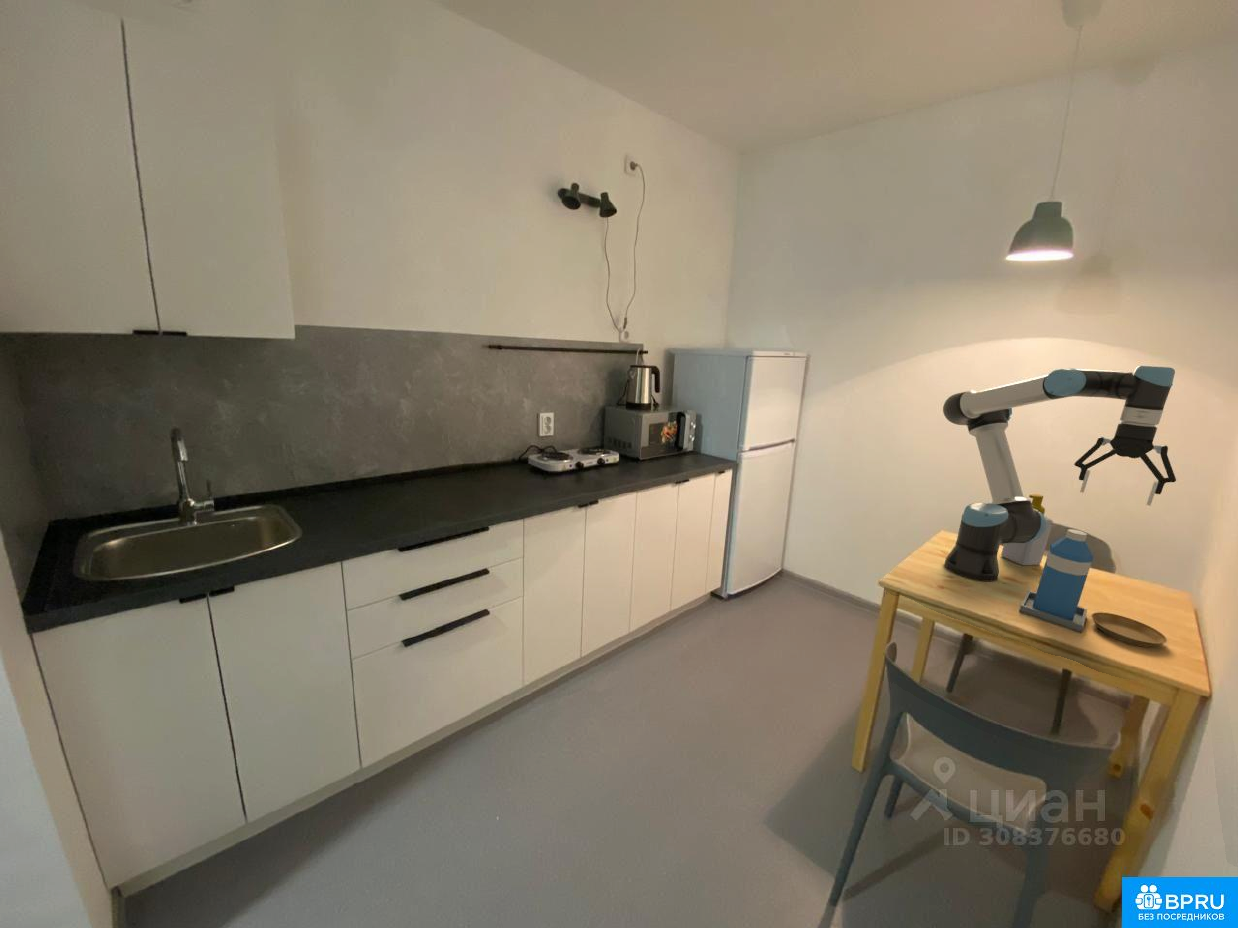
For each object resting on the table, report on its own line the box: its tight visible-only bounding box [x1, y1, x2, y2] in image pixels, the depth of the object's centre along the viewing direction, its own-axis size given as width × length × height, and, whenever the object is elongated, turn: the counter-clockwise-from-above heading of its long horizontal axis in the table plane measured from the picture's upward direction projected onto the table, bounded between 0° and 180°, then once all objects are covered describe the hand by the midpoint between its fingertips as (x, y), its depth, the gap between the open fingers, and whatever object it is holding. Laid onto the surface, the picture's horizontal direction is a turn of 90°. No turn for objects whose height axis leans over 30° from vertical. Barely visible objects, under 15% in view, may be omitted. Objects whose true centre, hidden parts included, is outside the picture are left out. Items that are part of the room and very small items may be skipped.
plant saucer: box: [1090, 611, 1168, 648], centre depth 135 cm, size 15×15×3 cm
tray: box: [1018, 590, 1088, 634], centre depth 144 cm, size 14×14×2 cm
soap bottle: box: [1001, 493, 1054, 566], centre depth 178 cm, size 9×9×25 cm
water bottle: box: [1033, 529, 1094, 620], centre depth 141 cm, size 9×9×25 cm
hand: (1114, 497), depth 140 cm, fingers open, 13 cm apart
